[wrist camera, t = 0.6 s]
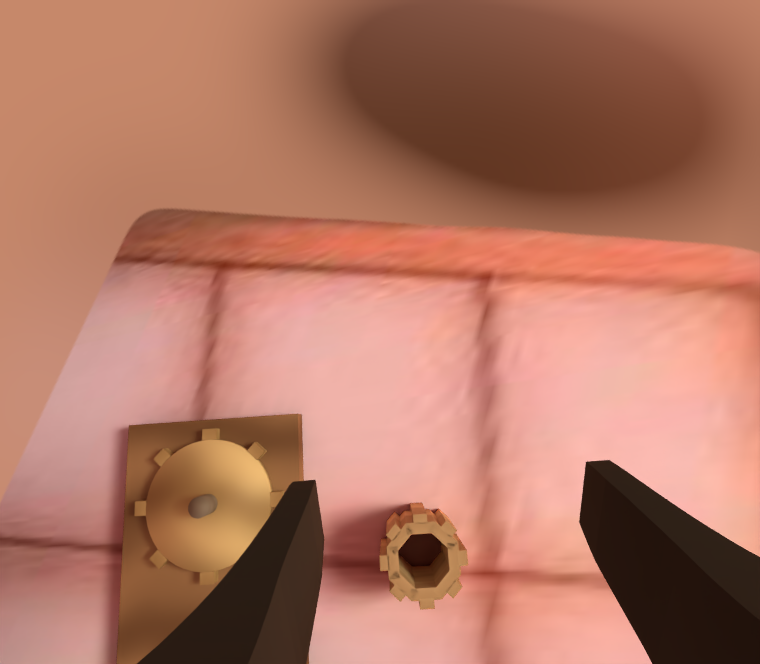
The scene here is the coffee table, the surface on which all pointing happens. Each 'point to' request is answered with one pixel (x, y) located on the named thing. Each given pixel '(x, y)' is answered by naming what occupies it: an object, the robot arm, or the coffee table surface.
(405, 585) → the maple gear
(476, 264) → the coffee table surface
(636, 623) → the robot arm
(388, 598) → the coffee table surface
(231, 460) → the gear board
